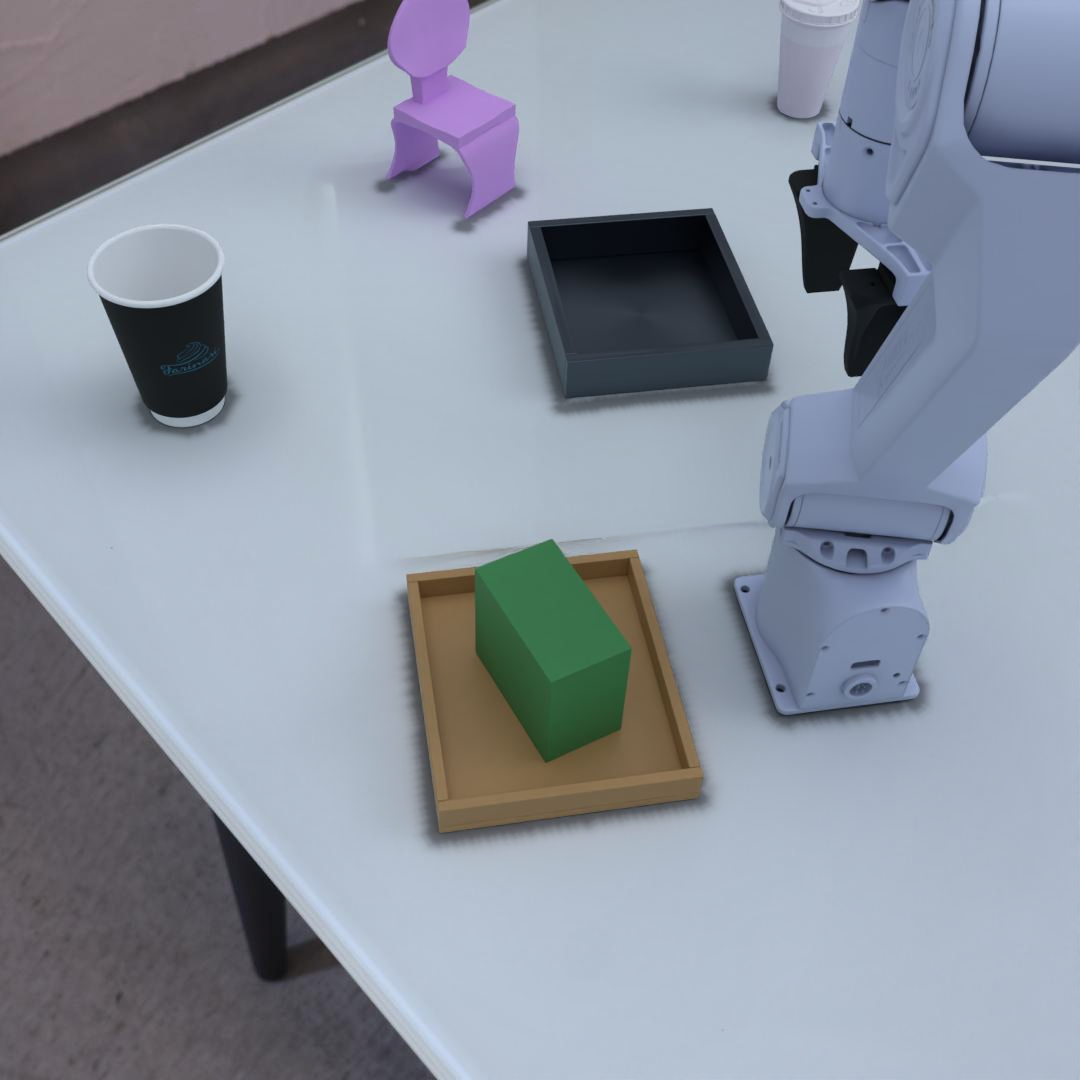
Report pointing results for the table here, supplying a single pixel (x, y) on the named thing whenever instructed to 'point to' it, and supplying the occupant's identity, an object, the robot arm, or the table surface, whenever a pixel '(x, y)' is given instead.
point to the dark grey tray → (645, 303)
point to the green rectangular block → (550, 649)
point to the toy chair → (448, 102)
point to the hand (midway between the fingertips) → (841, 329)
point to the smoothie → (810, 51)
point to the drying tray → (499, 738)
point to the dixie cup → (167, 316)
